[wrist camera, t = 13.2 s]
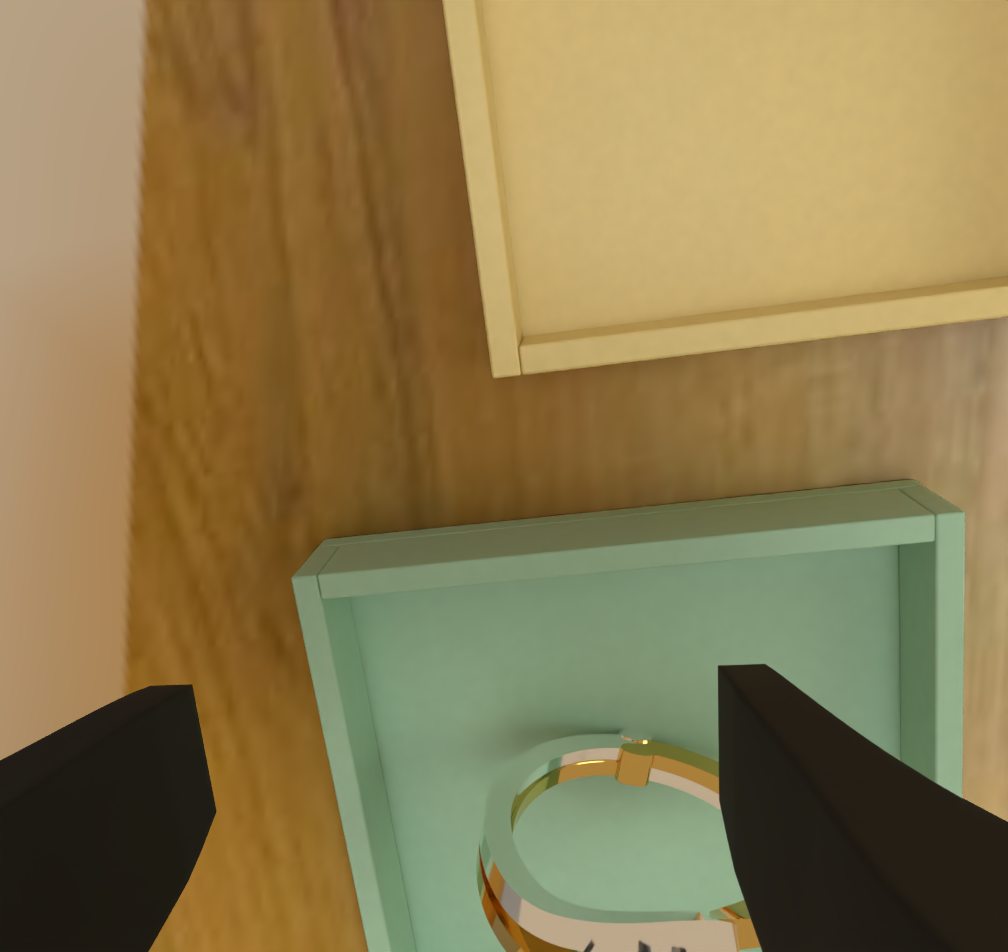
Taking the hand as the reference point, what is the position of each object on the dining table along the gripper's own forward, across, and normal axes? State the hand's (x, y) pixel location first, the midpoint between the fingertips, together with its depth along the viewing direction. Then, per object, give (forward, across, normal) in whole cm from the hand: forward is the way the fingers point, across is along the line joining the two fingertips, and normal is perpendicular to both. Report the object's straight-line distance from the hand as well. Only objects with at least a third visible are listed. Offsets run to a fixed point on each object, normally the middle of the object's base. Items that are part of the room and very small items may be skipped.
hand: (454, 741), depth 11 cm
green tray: (+9, -3, +7) cm, 12 cm away
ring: (+9, -3, +6) cm, 11 cm away
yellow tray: (+9, -6, -10) cm, 15 cm away
